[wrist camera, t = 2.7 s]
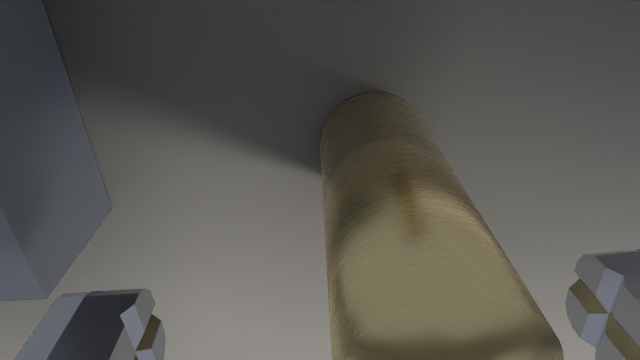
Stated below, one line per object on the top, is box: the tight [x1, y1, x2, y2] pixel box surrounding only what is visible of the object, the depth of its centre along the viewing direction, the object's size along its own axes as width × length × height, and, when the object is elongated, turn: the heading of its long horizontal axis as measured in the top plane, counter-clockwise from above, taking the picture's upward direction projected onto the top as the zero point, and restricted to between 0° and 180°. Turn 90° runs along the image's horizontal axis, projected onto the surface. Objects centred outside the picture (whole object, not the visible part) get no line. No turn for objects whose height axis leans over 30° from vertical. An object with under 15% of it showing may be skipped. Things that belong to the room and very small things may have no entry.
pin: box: [320, 92, 564, 360], centre depth 9 cm, size 3×3×8 cm
